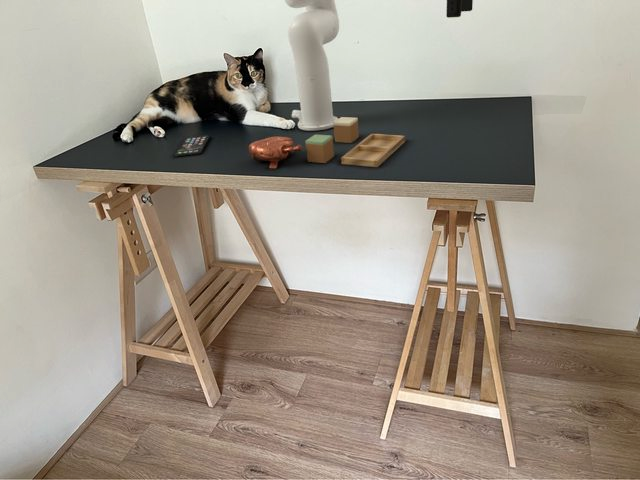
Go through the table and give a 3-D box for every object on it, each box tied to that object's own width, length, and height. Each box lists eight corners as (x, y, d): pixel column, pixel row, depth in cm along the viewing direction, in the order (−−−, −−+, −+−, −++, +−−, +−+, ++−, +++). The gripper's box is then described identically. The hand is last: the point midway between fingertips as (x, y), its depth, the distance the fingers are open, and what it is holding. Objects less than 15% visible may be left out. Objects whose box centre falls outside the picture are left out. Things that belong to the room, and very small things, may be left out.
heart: (238, 145, 122) (296, 145, 118) (255, 133, 132) (309, 133, 129) (241, 168, 124) (298, 169, 121) (258, 155, 135) (311, 155, 131)
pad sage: (307, 161, 125) (305, 140, 122) (317, 154, 128) (315, 134, 125) (325, 163, 122) (322, 142, 119) (334, 156, 126) (332, 135, 123)
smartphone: (174, 154, 138) (185, 137, 151) (174, 157, 138) (186, 139, 151) (200, 152, 138) (209, 135, 151) (200, 154, 138) (210, 137, 151)
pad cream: (334, 141, 136) (333, 122, 133) (343, 136, 139) (341, 116, 136) (351, 143, 133) (349, 123, 130) (359, 137, 137) (357, 117, 134)
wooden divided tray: (341, 163, 121) (340, 157, 120) (371, 139, 134) (371, 133, 134) (377, 167, 116) (377, 161, 116) (405, 141, 130) (405, 135, 129)
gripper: (456, -70, 115) (454, 9, 124) (433, -69, 103) (432, 20, 111) (489, -75, 112) (484, 8, 120) (469, -73, 99) (465, 18, 108)
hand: (459, 14), depth 116 cm, fingers open, 9 cm apart
